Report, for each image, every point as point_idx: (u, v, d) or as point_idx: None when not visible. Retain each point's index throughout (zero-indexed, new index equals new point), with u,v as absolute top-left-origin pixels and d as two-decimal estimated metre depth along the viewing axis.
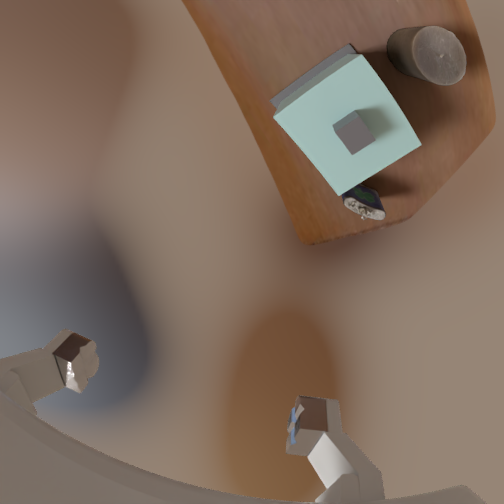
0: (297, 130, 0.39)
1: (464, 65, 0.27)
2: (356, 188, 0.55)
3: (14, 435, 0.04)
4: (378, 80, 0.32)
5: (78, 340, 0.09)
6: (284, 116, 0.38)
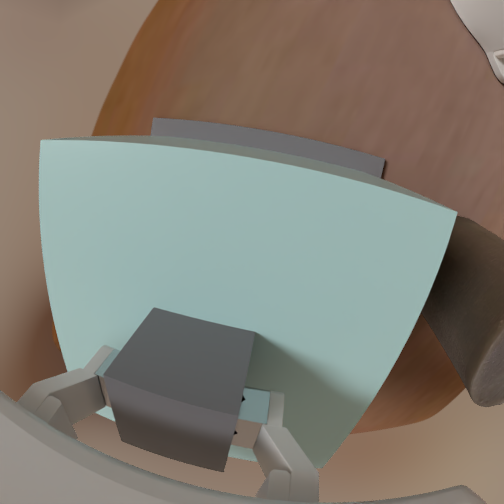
0: (61, 230, 0.10)
1: None
2: None
3: (14, 435, 0.04)
4: (409, 318, 0.10)
5: None
6: (60, 163, 0.09)
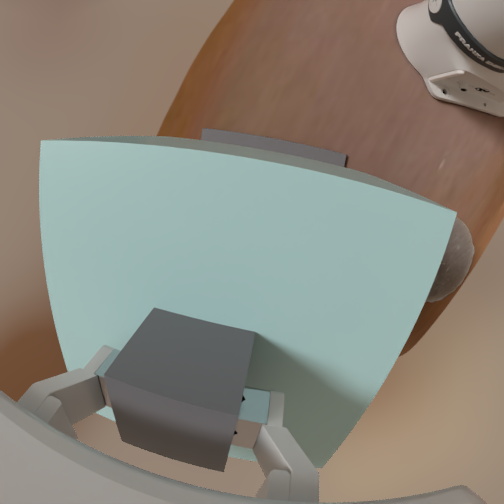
0: (61, 230, 0.10)
1: (449, 291, 0.26)
2: None
3: (14, 435, 0.04)
4: (408, 319, 0.10)
5: None
6: (60, 163, 0.09)
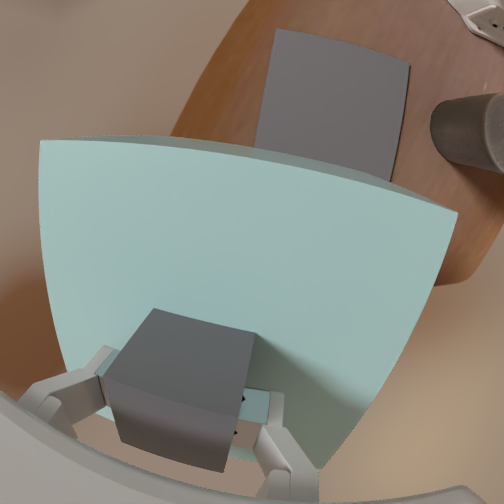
0: (61, 230, 0.10)
1: None
2: None
3: (14, 435, 0.04)
4: (409, 320, 0.10)
5: None
6: (59, 163, 0.09)
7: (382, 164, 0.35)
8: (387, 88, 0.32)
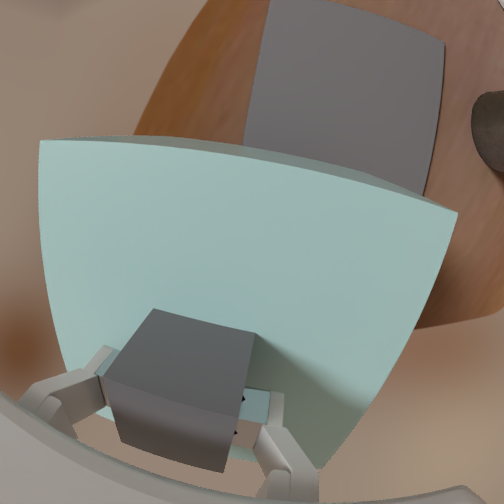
0: (60, 230, 0.10)
1: None
2: None
3: (14, 435, 0.04)
4: (409, 320, 0.10)
5: None
6: (59, 163, 0.09)
7: (414, 170, 0.25)
8: (419, 71, 0.22)
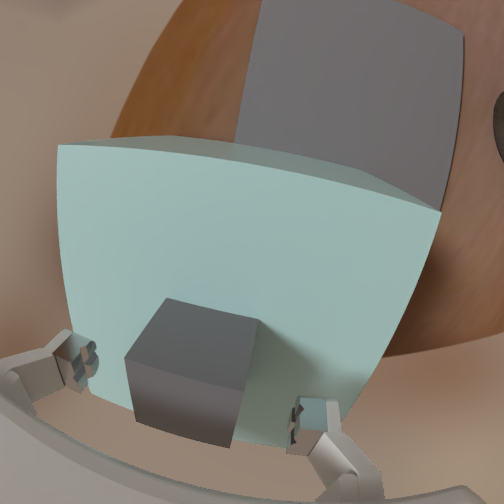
0: (79, 228, 0.11)
1: None
2: None
3: (14, 435, 0.04)
4: (397, 308, 0.11)
5: (78, 340, 0.09)
6: (77, 166, 0.10)
7: (433, 176, 0.21)
8: (437, 62, 0.17)
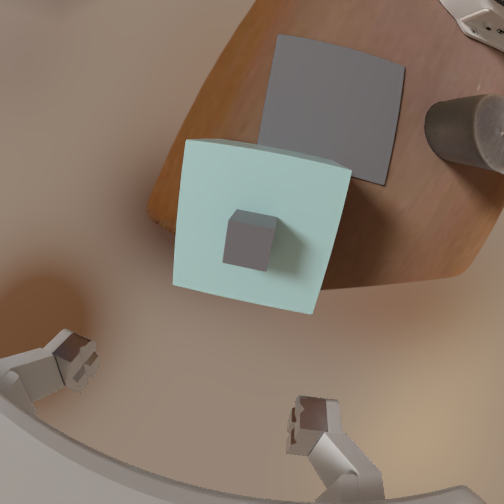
0: (194, 178, 0.28)
1: None
2: None
3: (14, 435, 0.04)
4: (338, 212, 0.27)
5: (78, 340, 0.09)
6: (197, 150, 0.27)
7: (378, 162, 0.38)
8: (383, 90, 0.34)
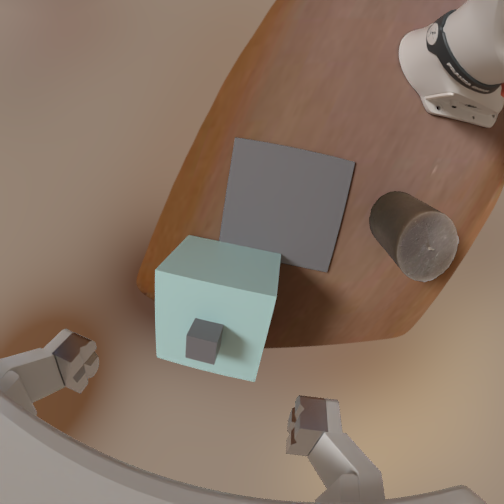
0: (164, 296, 0.38)
1: (439, 273, 0.33)
2: None
3: (14, 435, 0.04)
4: (267, 323, 0.38)
5: (78, 340, 0.09)
6: (164, 278, 0.37)
7: (322, 254, 0.48)
8: (330, 189, 0.44)
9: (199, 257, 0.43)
